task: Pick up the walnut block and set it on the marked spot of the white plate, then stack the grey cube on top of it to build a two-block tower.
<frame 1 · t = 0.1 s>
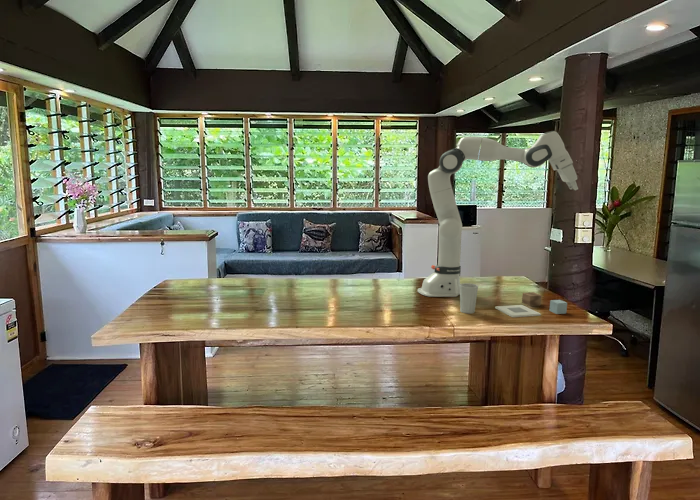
hand: (574, 189, 224), 54 cm above the table, tool tilted 30°, fingers open, 8 cm apart
plate: (517, 311, 215), on the table
walnut block: (531, 304, 228), on the table
cup: (467, 311, 214), on the table
grey cube: (557, 312, 215), on the table
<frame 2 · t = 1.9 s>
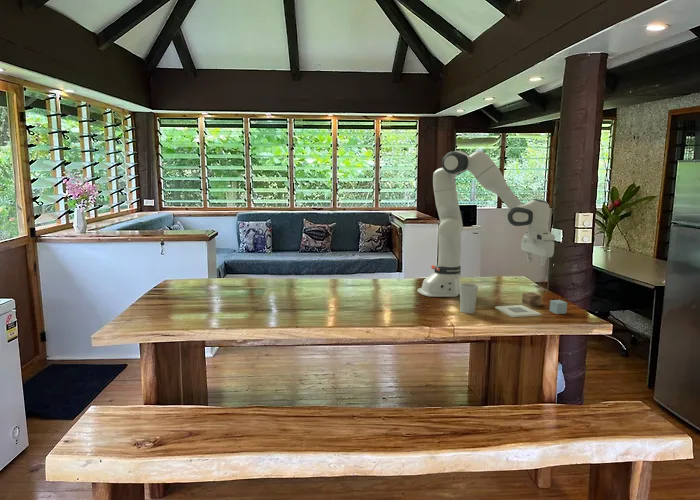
hand: (535, 263, 224), 20 cm above the table, tool pointing down, fingers open, 8 cm apart
nothing on the table moved.
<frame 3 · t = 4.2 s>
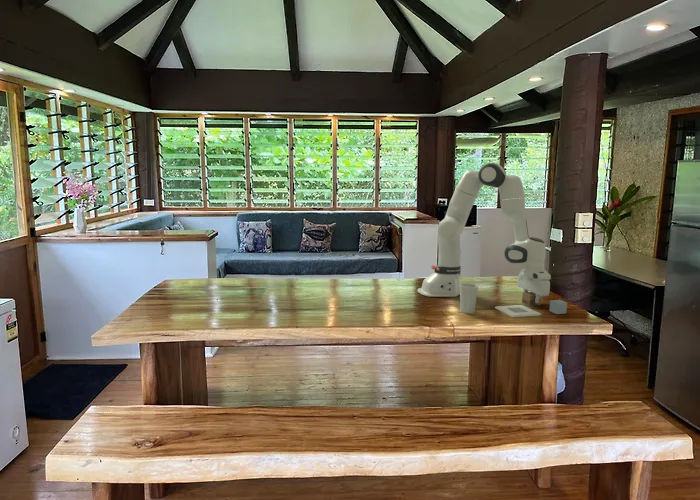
hand: (531, 300, 227), 2 cm above the table, tool pointing down, fingers closed on walnut block, 6 cm apart
walnut block: (531, 304, 228), on the table, touching gripper
everything else where it was.
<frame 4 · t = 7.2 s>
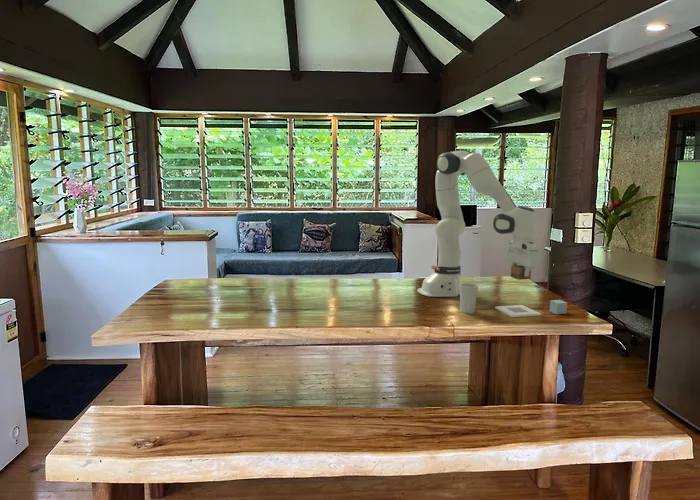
hand: (520, 274, 212), 17 cm above the table, tool pointing down, fingers closed on walnut block, 6 cm apart
walnut block: (520, 277, 212), point 16 cm above the table, touching gripper
everything else where it was.
when the fingers open (4 cm above the table, at t = 10.3 s): walnut block drops 2 cm, resting on plate.
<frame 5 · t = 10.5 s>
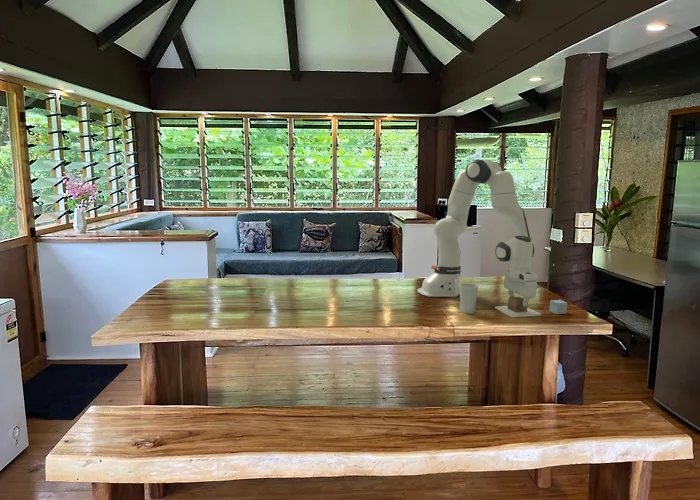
hand: (517, 302, 214), 4 cm above the table, tool pointing down, fingers open, 8 cm apart
walnut block: (517, 309, 215), point 1 cm above the table, touching plate
everything else where it was.
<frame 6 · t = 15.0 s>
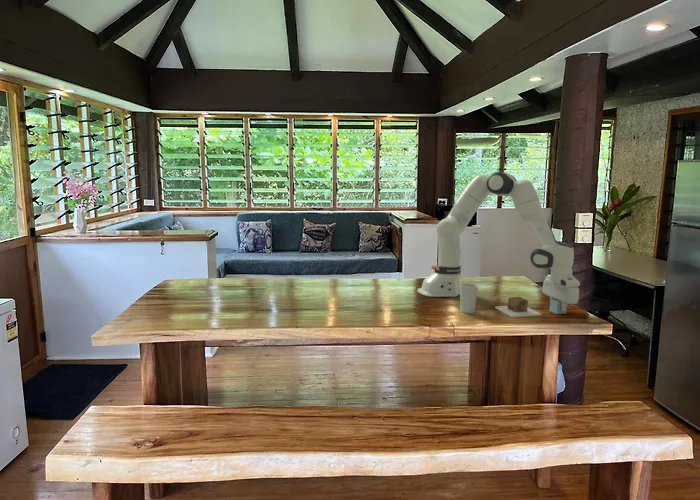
hand: (558, 308, 215), 2 cm above the table, tool pointing down, fingers closed on grey cube, 5 cm apart
grey cube: (557, 312, 215), on the table, touching gripper
everything else where it was.
when the fingers open (9 cm above the table, at t = 20.6 s): grey cube drops 1 cm, resting on walnut block.
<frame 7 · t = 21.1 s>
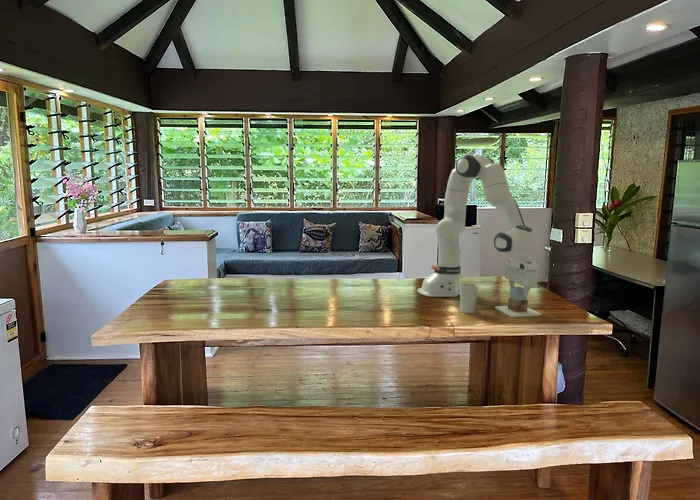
hand: (518, 293, 213), 9 cm above the table, tool pointing down, fingers open, 8 cm apart
walnut block: (517, 309, 215), point 1 cm above the table, touching grey cube, plate
grey cube: (518, 298, 214), point 6 cm above the table, touching walnut block
everything else where it was.
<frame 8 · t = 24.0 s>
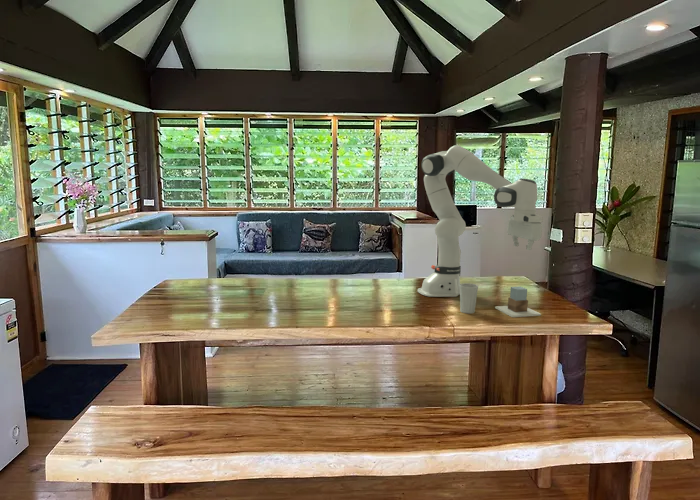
hand: (522, 247, 210), 29 cm above the table, tool pointing down, fingers open, 8 cm apart
nothing on the table moved.
at the end: walnut block 0.1 cm off-centre on the plate, point 0.9 cm above the plate's base; grey cube 0.0 cm off-centre on the walnut block, point 5.0 cm above the walnut block's base; grey cube tilted 0° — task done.
